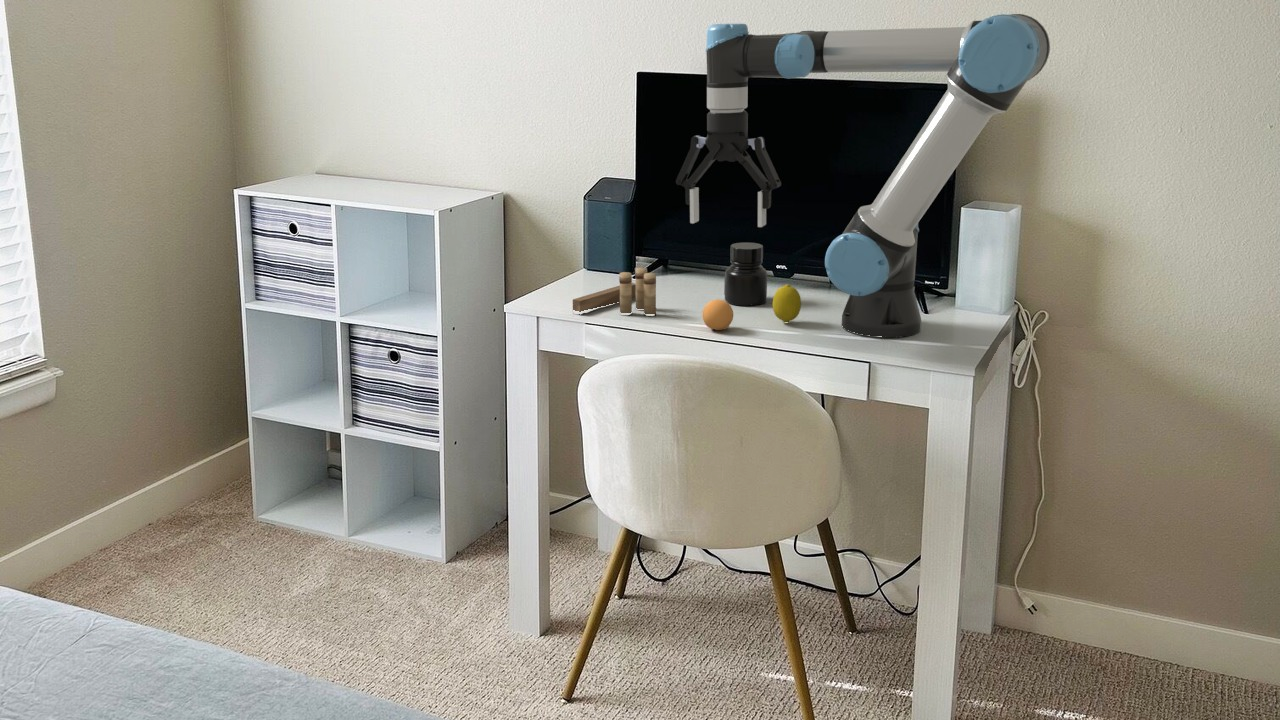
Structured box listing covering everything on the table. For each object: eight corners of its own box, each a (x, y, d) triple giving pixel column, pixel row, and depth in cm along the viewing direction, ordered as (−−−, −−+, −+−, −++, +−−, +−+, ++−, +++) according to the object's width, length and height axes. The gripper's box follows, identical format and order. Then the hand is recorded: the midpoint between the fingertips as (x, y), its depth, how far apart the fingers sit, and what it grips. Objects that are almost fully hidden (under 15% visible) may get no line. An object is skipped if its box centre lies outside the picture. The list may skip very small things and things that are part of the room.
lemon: (796, 328, 227) (798, 288, 225) (769, 325, 229) (770, 286, 227) (803, 321, 232) (804, 282, 230) (775, 318, 234) (777, 279, 232)
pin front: (658, 314, 237) (658, 274, 235) (650, 317, 236) (650, 276, 233) (649, 312, 239) (648, 272, 236) (641, 315, 237) (641, 274, 234)
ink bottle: (759, 294, 252) (760, 240, 249) (774, 304, 244) (776, 248, 241) (716, 298, 250) (717, 243, 246) (731, 308, 242) (732, 251, 238)
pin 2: (650, 308, 242) (649, 268, 239) (642, 311, 240) (642, 271, 237) (640, 306, 243) (640, 267, 241) (633, 309, 241) (632, 269, 239)
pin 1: (634, 313, 238) (634, 273, 236) (626, 316, 236) (626, 275, 234) (625, 311, 240) (624, 271, 237) (617, 314, 238) (616, 273, 235)
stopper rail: (636, 297, 250) (636, 283, 250) (580, 315, 237) (579, 301, 236) (629, 296, 252) (629, 282, 251) (572, 313, 239) (572, 299, 238)
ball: (739, 329, 227) (739, 299, 225) (721, 335, 223) (721, 305, 221) (714, 323, 231) (714, 294, 229) (696, 330, 226) (696, 300, 225)
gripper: (798, 109, 214) (796, 223, 220) (672, 107, 224) (674, 217, 230) (786, 113, 207) (784, 231, 214) (657, 111, 217) (659, 224, 224)
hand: (727, 224), depth 222 cm, fingers open, 13 cm apart
